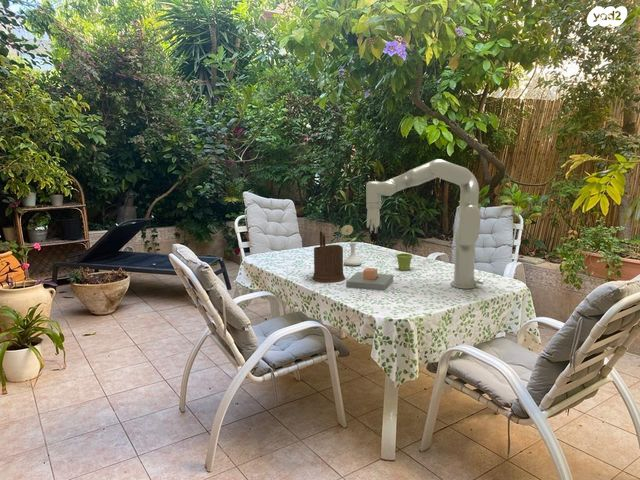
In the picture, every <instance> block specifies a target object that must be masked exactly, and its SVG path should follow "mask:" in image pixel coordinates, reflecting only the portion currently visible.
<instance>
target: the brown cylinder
mask: <svg viewBox="0 0 640 480" xmlns="http://www.w3.org/2000/svg"><path fill="white" fill-rule="evenodd" d="M313 262H314V263H313V264H314V265H313V266H314V267H313V271H314V273H313V276H312V279H313V280H314V282H315V283H320V284H336V283H341V282H343V281H345V280H346V277H345V275H344V247H343V246H341V245H339V244H327V245H326V234H325V231H324V230H319V246H315V247H313ZM313 280H312V281H313Z"/></svg>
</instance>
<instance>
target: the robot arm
mask: <svg viewBox="0 0 640 480" xmlns="http://www.w3.org/2000/svg"><path fill="white" fill-rule="evenodd" d="M436 178H439V179H441V180H444V181H446V182H449V183H453V184H455V185H457V186H459V189H460V195H459V197H460V199H459V206H458V207H459V208H458V213H457V214H458V217H459V221H458V226H457V228H456V230H455V232H454V245H455V246H454V271H453V273H454V274H453V280H452V281H450V286H451V287H454V288H456V289H465V290H467V289H469V290H471V289H475V288H477V284H478V285H483V284H484V280H483V279H480V278H479V279H477V278H475V277H476V276H475V258H476V257H475V256H476V243H477V242H478V240H479V234H480V226H481V214H482V213H481V210H480V208H479V193H480V186H479V183H478V180H477V178H476V176H475V175H474V173H473V172H471V171H470V169H468V168H467V167H464V166H461V165H458V164H456V163H452V162H449V161H447V160H444V159H441V158H436V159H433V160H430V161H429V162H426V163H423V164H421V165H419V166H417V167H414V168H412V169H409V170H408V171H405V172H404V173H401V174H400V175H398V176H394V177H392V178H390V179H387V180H385V181H378V180H377V181H376V180H375V181H373V180H371V181H368V182H366V185H365V188H366V191H365V193H366V194H365V195H366V196H365V197H366V199H365V200H366V201H365V203H366V207H365V208H366V209H367V211H366V213H367V214H366V228H367V229H369V232H370V241H371V242H377V241H378V227H379V226H380V221H381V220H380V218H381V217H380V216H381V213H380V210H381V209H382V196H387V197H390V196H393V195H395V193H397V192H399V191H402V190H405V189H408V188H411V187H416V186H419V185H422V184H424V183H427V182H430V181H432V180H434V179H436Z"/></svg>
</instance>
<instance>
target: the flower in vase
mask: <svg viewBox="0 0 640 480" xmlns="http://www.w3.org/2000/svg"><path fill="white" fill-rule="evenodd" d="M340 232H341V235H344V236H348V237H344V238H342V241H344V242H347V241H350V242H348V244H349V246H350V255H349V256H347V257H346V258H345V259H343V265H346V266H354V267H355V266H360V265H361V264H362V263H363V260H361V258H360V257H358V256H357V255H356V252H355V251H356V250H355V249H356V245H357V243H358V242H355V241H356V240H357V236H356V237H353V238H352V239H350V235H351V234H352V233H353V232H354V227H353V226H352V225H350V224H347V225H344V226H343V227H342V228H341V230H340Z"/></svg>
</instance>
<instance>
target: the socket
mask: <svg viewBox="0 0 640 480" xmlns="http://www.w3.org/2000/svg"><path fill="white" fill-rule="evenodd" d="M393 281H394V274H387V273H377V278H376V279H375V280H369V279H363V271H361V272H360V271H356V273H354V274H353V275H352V276H351V277H350V278H348V279H347V280H346V281H345V285H346V288H353V289H366V290H374V291H375V290H377V291H386V290H387V288H388V287H389V286H390V285H391V284H392V282H393Z"/></svg>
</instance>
